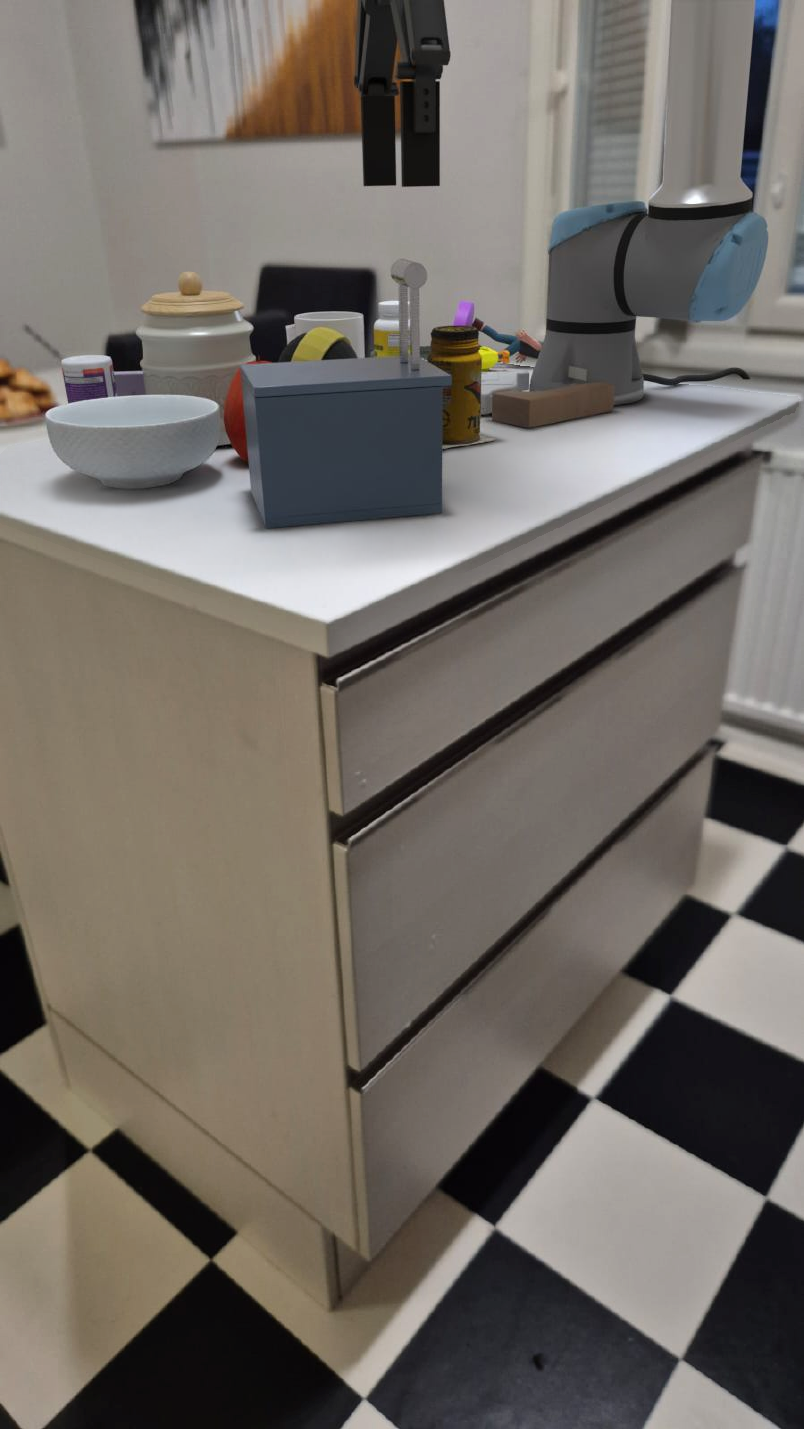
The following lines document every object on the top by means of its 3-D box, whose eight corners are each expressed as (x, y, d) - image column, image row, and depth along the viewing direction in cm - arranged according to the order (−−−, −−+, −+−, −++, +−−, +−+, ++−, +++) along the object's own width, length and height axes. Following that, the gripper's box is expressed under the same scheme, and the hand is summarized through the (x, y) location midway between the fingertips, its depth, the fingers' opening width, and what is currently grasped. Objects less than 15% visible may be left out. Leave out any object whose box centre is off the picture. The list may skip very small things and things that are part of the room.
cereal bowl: (253, 484, 98) (246, 411, 94) (85, 513, 90) (72, 434, 87) (189, 451, 110) (181, 385, 107) (38, 473, 103) (24, 403, 99)
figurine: (445, 369, 155) (557, 393, 153) (455, 306, 150) (572, 331, 148) (455, 355, 163) (562, 378, 161) (466, 295, 157) (577, 318, 156)
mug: (379, 403, 132) (377, 314, 127) (334, 414, 126) (329, 321, 121) (316, 393, 139) (311, 308, 134) (269, 403, 133) (263, 315, 128)
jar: (207, 419, 124) (190, 265, 116) (285, 431, 117) (273, 269, 109) (126, 440, 115) (102, 274, 106) (206, 454, 108) (186, 278, 100)
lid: (417, 363, 93) (416, 255, 89) (451, 385, 83) (452, 264, 79) (240, 373, 90) (230, 261, 86) (254, 397, 80) (244, 272, 76)
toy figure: (516, 350, 148) (442, 363, 146) (516, 374, 150) (443, 387, 148) (498, 339, 154) (426, 352, 151) (498, 363, 156) (427, 375, 153)
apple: (311, 466, 104) (305, 358, 99) (233, 473, 102) (223, 363, 97) (296, 448, 111) (290, 347, 106) (222, 454, 109) (212, 351, 104)
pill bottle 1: (49, 360, 107) (65, 450, 111) (87, 363, 105) (101, 455, 109) (85, 353, 111) (99, 441, 116) (122, 355, 109) (134, 445, 113)
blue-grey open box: (410, 479, 98) (408, 364, 93) (442, 513, 88) (442, 386, 83) (251, 492, 95) (240, 374, 90) (265, 528, 85) (254, 398, 80)
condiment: (495, 441, 112) (498, 328, 107) (434, 451, 108) (434, 335, 103) (457, 429, 118) (458, 322, 112) (398, 439, 114) (396, 328, 108)
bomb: (260, 423, 123) (366, 468, 119) (255, 346, 113) (370, 392, 110) (306, 374, 128) (409, 415, 125) (305, 297, 119) (415, 340, 116)
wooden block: (528, 428, 117) (613, 411, 125) (529, 399, 116) (615, 384, 124) (491, 420, 122) (575, 404, 130) (491, 393, 120) (576, 378, 128)
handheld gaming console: (530, 416, 123) (528, 391, 136) (530, 392, 122) (529, 370, 135) (440, 417, 124) (447, 393, 138) (440, 394, 123) (447, 371, 136)
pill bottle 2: (373, 380, 147) (371, 300, 142) (414, 379, 148) (413, 299, 143) (377, 388, 142) (374, 305, 137) (419, 386, 143) (419, 304, 137)
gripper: (310, -118, 78) (324, 186, 88) (379, -230, 57) (388, 188, 67) (402, -114, 80) (406, 184, 90) (503, -222, 58) (493, 185, 69)
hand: (398, 186), depth 78 cm, fingers open, 13 cm apart
